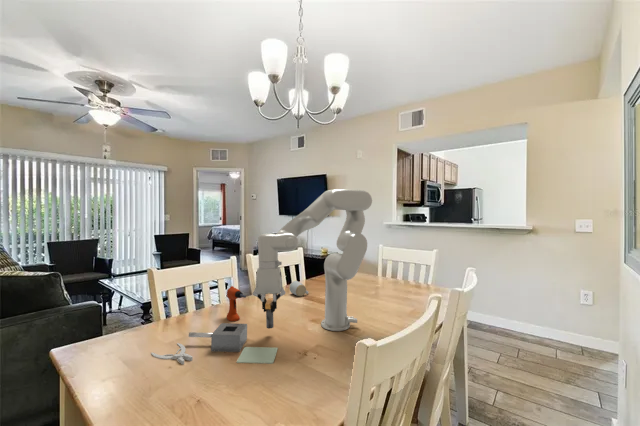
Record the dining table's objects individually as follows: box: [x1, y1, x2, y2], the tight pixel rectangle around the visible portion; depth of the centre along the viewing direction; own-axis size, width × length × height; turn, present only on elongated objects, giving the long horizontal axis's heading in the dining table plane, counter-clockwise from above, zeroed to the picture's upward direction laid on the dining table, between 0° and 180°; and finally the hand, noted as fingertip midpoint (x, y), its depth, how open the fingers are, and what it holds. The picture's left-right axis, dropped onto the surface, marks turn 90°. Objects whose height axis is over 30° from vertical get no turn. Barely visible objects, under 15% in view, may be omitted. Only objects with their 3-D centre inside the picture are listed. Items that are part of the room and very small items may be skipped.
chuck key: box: [265, 297, 275, 330], centre depth 114 cm, size 3×7×10 cm, turn 0°
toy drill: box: [226, 285, 247, 322], centre depth 127 cm, size 5×19×15 cm, turn 38°
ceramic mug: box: [289, 280, 309, 297], centre depth 170 cm, size 11×8×8 cm
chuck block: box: [188, 322, 248, 353], centre depth 106 cm, size 20×10×6 cm, turn 90°
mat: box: [236, 346, 279, 365], centre depth 99 cm, size 12×10×1 cm
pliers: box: [150, 342, 193, 365], centre depth 98 cm, size 10×2×15 cm
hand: (269, 310), depth 114 cm, fingers closed on chuck key, 2 cm apart
